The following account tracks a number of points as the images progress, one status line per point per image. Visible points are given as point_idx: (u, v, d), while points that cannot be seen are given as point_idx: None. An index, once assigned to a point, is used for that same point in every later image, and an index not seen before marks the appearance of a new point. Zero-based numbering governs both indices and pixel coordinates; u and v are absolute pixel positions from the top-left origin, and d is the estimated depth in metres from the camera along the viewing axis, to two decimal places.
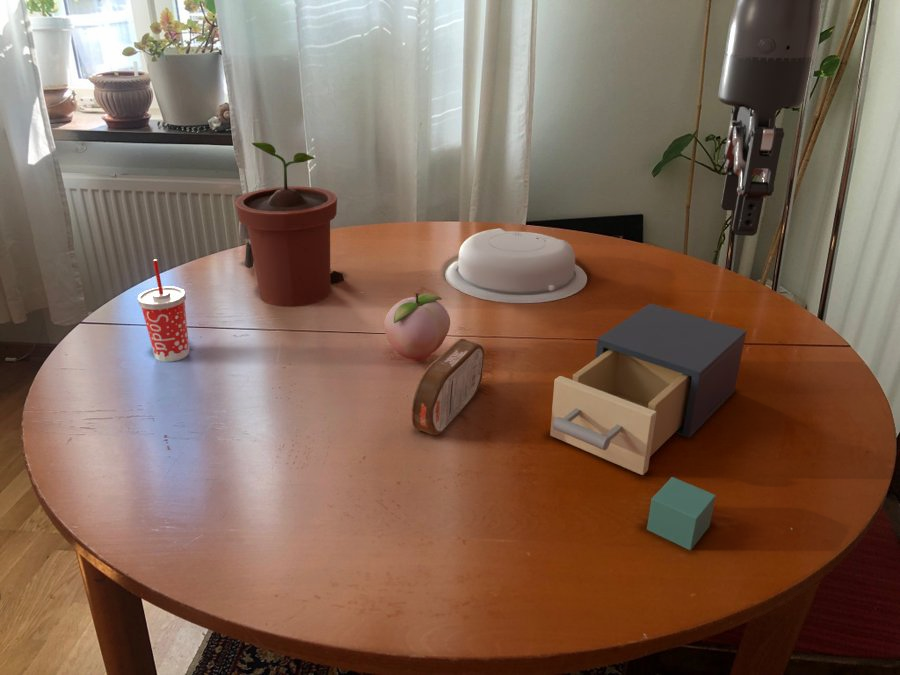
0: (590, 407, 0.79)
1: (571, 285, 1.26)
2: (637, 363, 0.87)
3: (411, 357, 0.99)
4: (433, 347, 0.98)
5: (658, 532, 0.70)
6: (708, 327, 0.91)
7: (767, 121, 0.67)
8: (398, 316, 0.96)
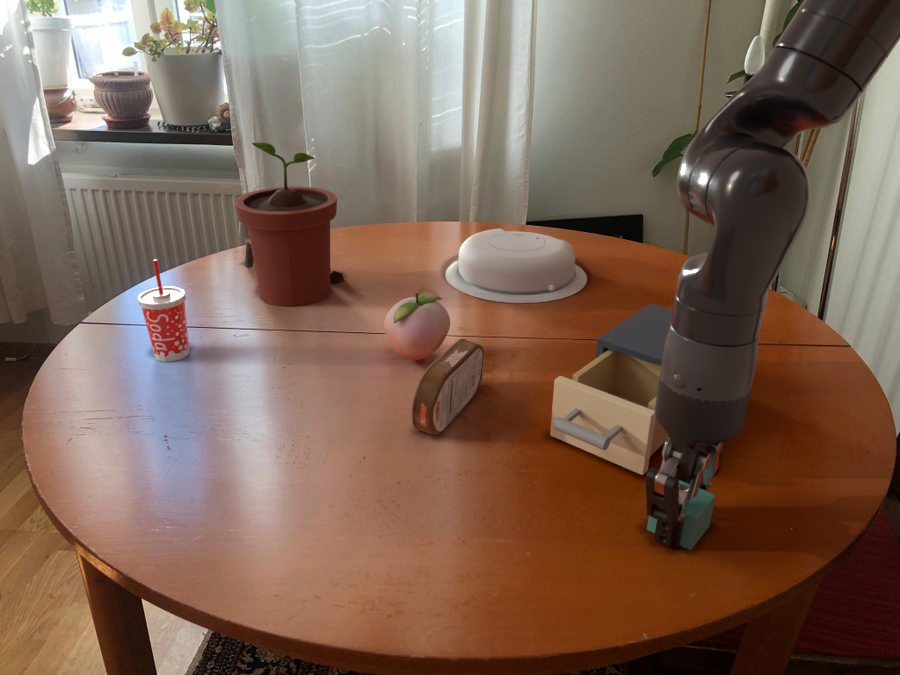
0: (590, 407, 0.79)
1: (571, 285, 1.25)
2: (637, 363, 0.87)
3: (411, 357, 0.99)
4: (433, 347, 0.98)
5: None
6: None
7: (681, 451, 0.63)
8: (398, 316, 0.96)
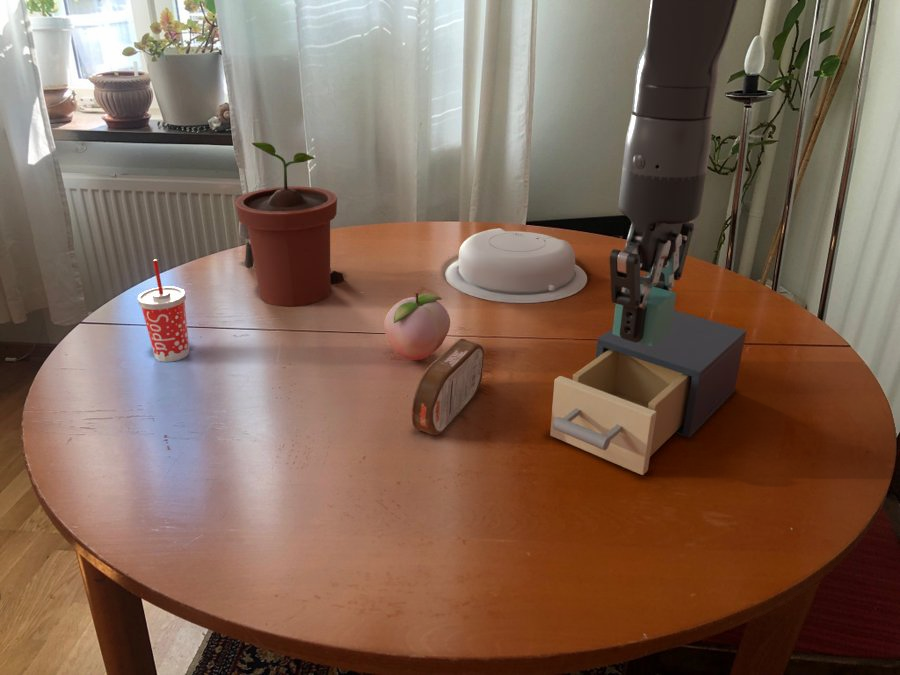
0: (590, 407, 0.79)
1: (571, 285, 1.25)
2: (637, 363, 0.87)
3: (411, 357, 0.99)
4: (433, 347, 0.98)
5: None
6: (708, 327, 0.91)
7: (642, 233, 0.68)
8: (398, 316, 0.96)
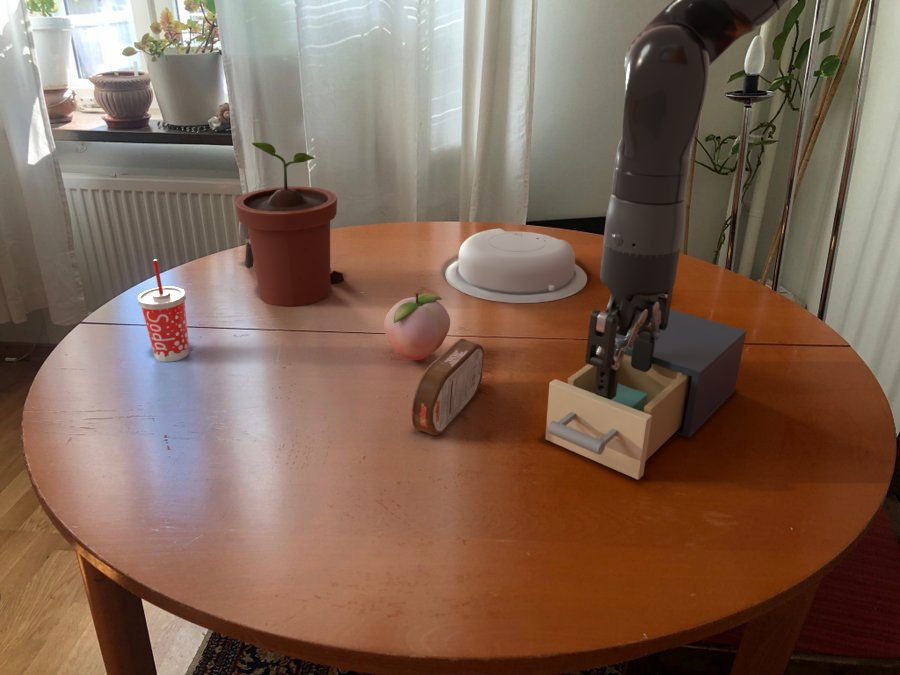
0: (585, 411, 0.78)
1: (571, 285, 1.25)
2: None
3: (411, 357, 0.99)
4: (433, 347, 0.98)
5: None
6: (708, 327, 0.91)
7: (620, 303, 0.74)
8: (398, 316, 0.96)
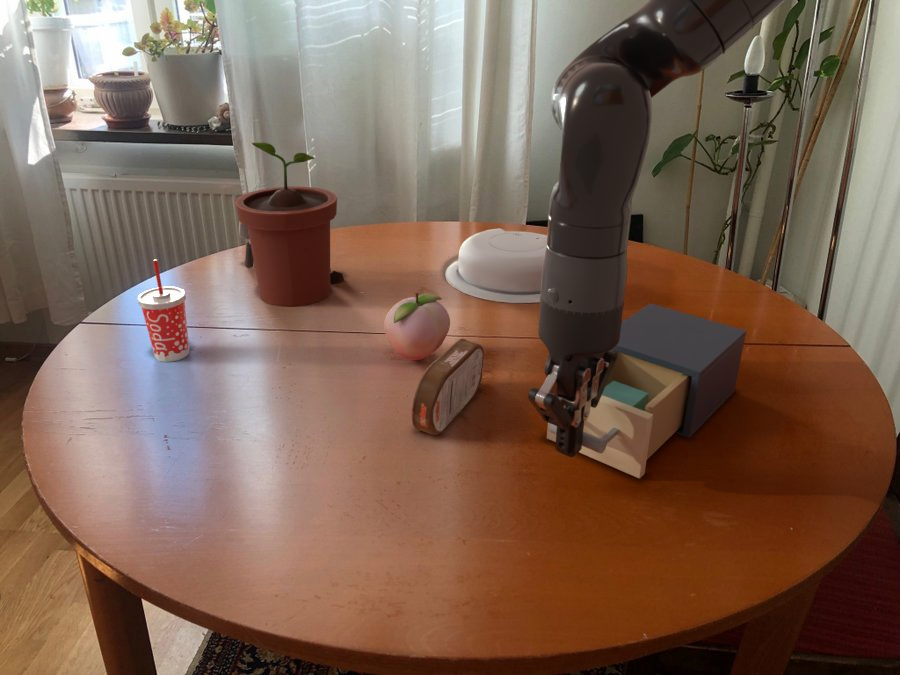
0: None
1: None
2: (634, 365, 0.87)
3: (411, 357, 0.99)
4: (433, 347, 0.98)
5: None
6: (708, 327, 0.91)
7: (559, 364, 0.67)
8: (398, 316, 0.96)
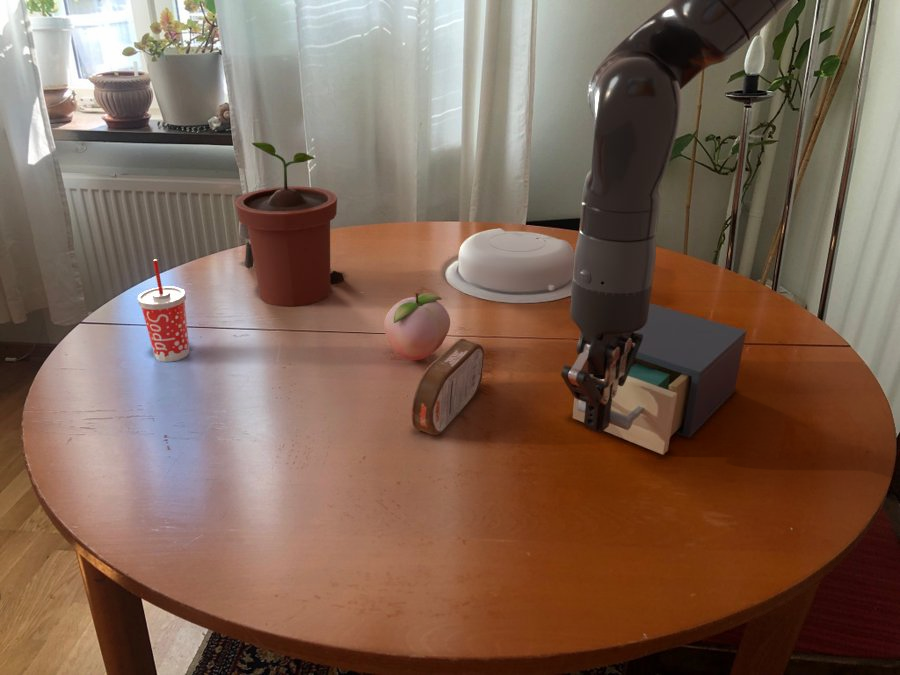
0: None
1: (571, 285, 1.25)
2: None
3: (411, 357, 0.99)
4: (433, 347, 0.98)
5: None
6: (708, 327, 0.91)
7: (590, 342, 0.71)
8: (398, 316, 0.96)
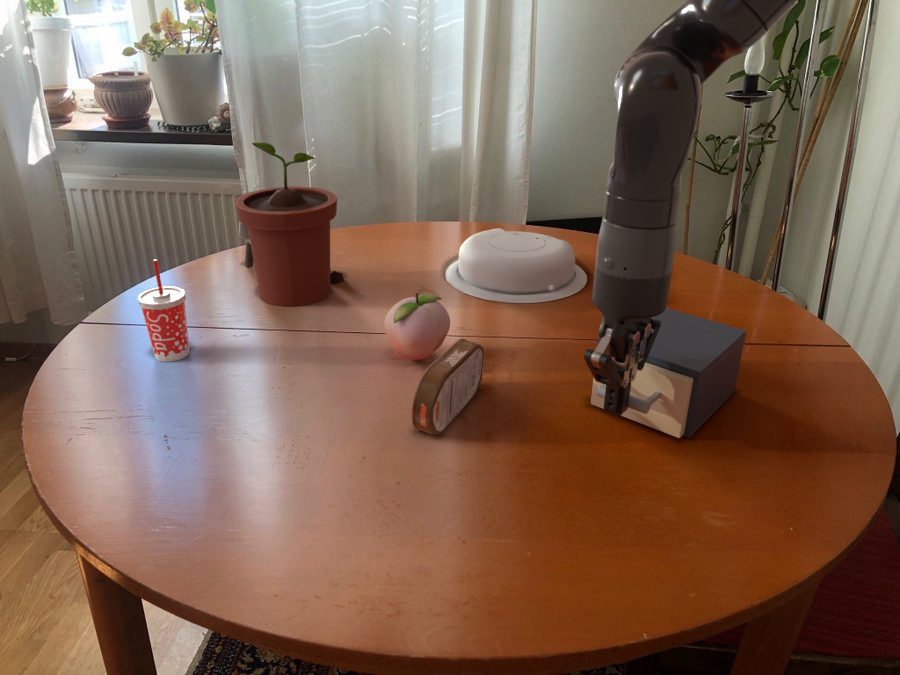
0: None
1: (571, 285, 1.25)
2: None
3: (411, 357, 0.99)
4: (433, 347, 0.98)
5: None
6: (708, 327, 0.91)
7: (612, 327, 0.74)
8: (398, 316, 0.96)
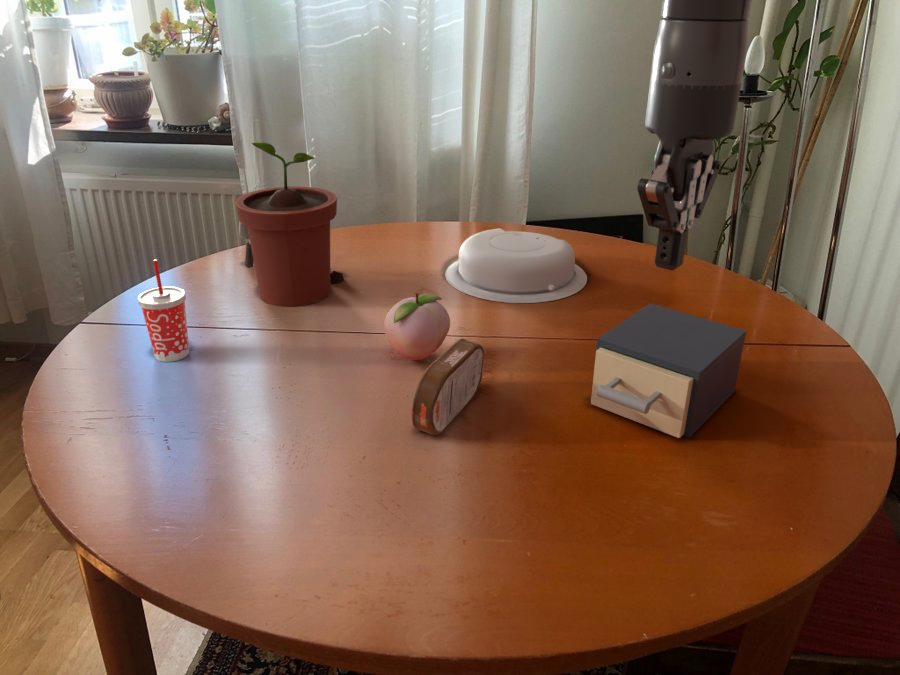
0: (630, 376, 0.85)
1: (571, 285, 1.25)
2: None
3: (411, 357, 0.99)
4: (433, 347, 0.98)
5: None
6: (708, 327, 0.91)
7: (671, 151, 0.63)
8: (398, 316, 0.96)
